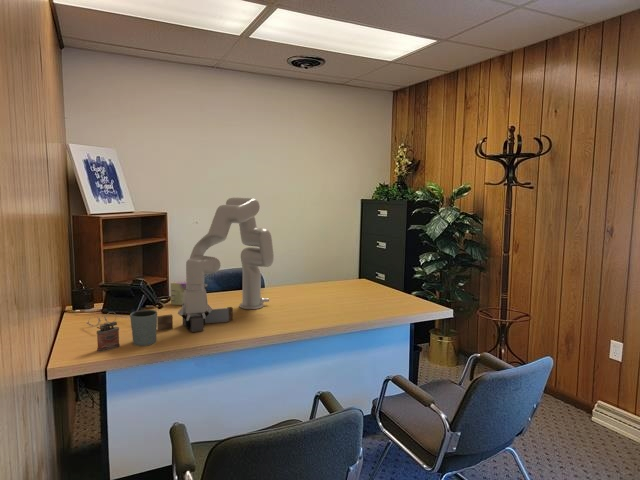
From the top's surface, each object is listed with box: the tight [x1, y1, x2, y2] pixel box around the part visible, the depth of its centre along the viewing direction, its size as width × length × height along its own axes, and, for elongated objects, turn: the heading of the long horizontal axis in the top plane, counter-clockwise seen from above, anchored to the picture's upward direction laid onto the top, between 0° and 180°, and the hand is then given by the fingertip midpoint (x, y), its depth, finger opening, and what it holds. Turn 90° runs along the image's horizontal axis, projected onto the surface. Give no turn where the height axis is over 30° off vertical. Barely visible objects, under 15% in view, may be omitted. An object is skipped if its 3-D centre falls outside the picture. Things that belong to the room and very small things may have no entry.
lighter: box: [96, 321, 121, 352], centre depth 163 cm, size 8×3×10 cm, turn 138°
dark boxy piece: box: [184, 313, 205, 333], centre depth 188 cm, size 5×10×6 cm, turn 35°
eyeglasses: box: [86, 311, 129, 330], centre depth 187 cm, size 16×19×5 cm
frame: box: [157, 306, 234, 332], centre depth 194 cm, size 34×2×6 cm, turn 121°
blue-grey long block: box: [182, 307, 229, 326], centre depth 196 cm, size 20×3×6 cm, turn 109°
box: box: [170, 280, 186, 306], centre depth 227 cm, size 10×6×12 cm, turn 84°
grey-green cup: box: [129, 309, 158, 347], centre depth 170 cm, size 10×10×12 cm
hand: (195, 327), depth 187 cm, fingers closed on dark boxy piece, 5 cm apart
